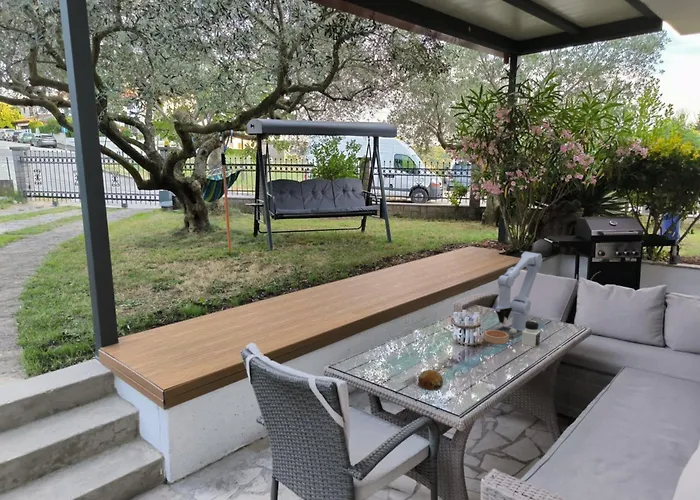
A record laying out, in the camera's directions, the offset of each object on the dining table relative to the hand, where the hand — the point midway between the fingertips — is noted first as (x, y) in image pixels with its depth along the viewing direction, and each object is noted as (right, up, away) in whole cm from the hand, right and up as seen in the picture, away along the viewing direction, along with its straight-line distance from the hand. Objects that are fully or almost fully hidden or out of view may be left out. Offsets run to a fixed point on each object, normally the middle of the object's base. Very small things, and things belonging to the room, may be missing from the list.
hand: (503, 321), depth 259 cm
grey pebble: (+4, -7, -3) cm, 9 cm away
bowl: (-7, -8, -10) cm, 15 cm away
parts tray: (+2, -7, -1) cm, 7 cm away
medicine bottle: (+9, -10, -15) cm, 20 cm away
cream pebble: (0, -1, 0) cm, 1 cm away
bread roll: (-50, -17, -62) cm, 82 cm away
